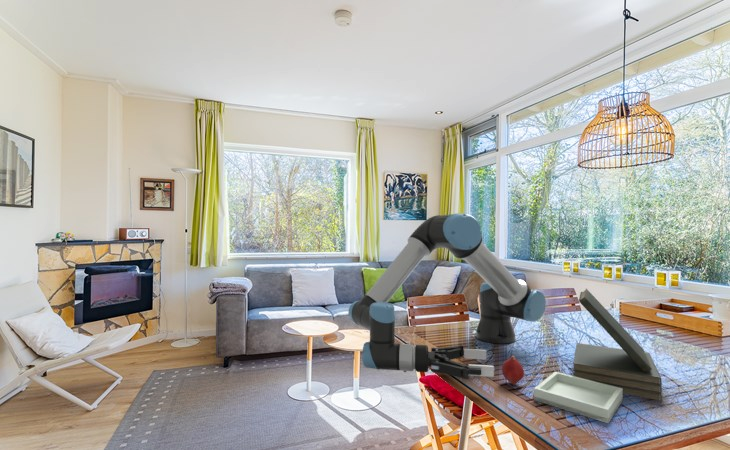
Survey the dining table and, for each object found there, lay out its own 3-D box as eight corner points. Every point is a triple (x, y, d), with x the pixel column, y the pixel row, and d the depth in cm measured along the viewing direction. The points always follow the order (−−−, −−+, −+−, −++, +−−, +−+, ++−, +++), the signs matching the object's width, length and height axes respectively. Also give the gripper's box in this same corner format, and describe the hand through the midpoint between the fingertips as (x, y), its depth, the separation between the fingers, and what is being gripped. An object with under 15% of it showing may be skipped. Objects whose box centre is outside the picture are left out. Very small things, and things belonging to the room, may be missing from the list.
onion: (498, 380, 104) (498, 352, 105) (517, 379, 105) (517, 352, 105) (508, 388, 99) (507, 359, 99) (528, 388, 99) (527, 358, 99)
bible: (662, 402, 91) (659, 303, 92) (573, 385, 102) (571, 296, 103) (650, 373, 110) (648, 291, 111) (577, 361, 121) (575, 287, 122)
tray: (534, 400, 92) (534, 388, 92) (555, 382, 103) (555, 371, 103) (608, 423, 80) (608, 409, 81) (622, 400, 92) (622, 388, 92)
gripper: (416, 356, 119) (483, 360, 115) (412, 388, 94) (497, 394, 90) (416, 333, 119) (483, 337, 115) (412, 359, 94) (497, 364, 90)
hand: (489, 362), depth 103 cm, fingers open, 13 cm apart
